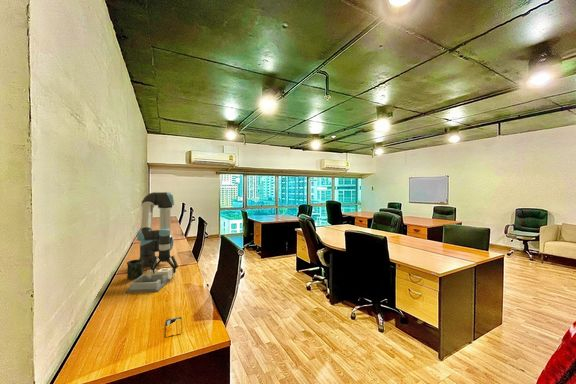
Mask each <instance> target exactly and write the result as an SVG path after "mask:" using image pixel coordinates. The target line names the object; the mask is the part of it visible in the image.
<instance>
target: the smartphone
mask: <svg viewBox="0 0 576 384" xmlns="http://www.w3.org/2000/svg"><path fill="white" fill-rule="evenodd" d="M178 319H182V316H179V317H173V318H169V319H166V320H165V324H166V325H165V324H164V325H165V327H166V326H168V325H169V324H171V323H173V322H175V321H177V320H178Z"/></svg>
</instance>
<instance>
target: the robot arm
mask: <svg viewBox="0 0 576 384" xmlns="http://www.w3.org/2000/svg"><path fill="white" fill-rule="evenodd" d="M155 206H157V208H158V209H159V229H154V230H153V217H154V216H153V215H154V214H153V213H154V212H153V211H154V207H155ZM173 206H175V200H174V195H173V193H172V192H167V191H165V192H157V191H155V192H150V193H148V194H146V195H145V197H143V198H142V201H141V209H142V211H141V223H140V230H139V231H137V232H136V240H137V241H138V242H139V257H138V258H139V259H141V260H144V261H143V268H147V267H150V268H149V269H152V274H156V272H157V271H158V269H157V267H158V266H159V264H160V263H168V264H169V266H170V268H172V276H171V278H172V279H174V278H175V273H176V272H177V271H176V269H178V268H179V264H178V263H177V260H176V257H175V255H171V251H172V250H173V248H174V241H175V240H174V239H175V238H174V237H173V235H172V234H171V209H172V208H173ZM156 253H158V255H156Z"/></svg>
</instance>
